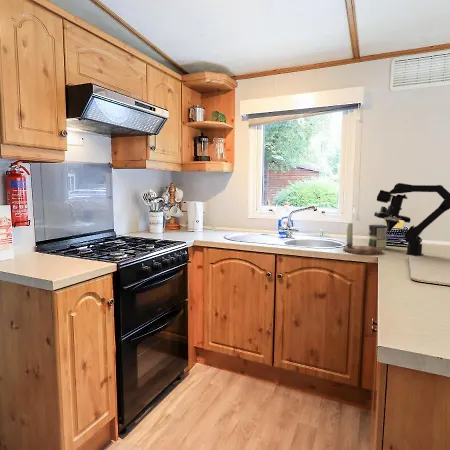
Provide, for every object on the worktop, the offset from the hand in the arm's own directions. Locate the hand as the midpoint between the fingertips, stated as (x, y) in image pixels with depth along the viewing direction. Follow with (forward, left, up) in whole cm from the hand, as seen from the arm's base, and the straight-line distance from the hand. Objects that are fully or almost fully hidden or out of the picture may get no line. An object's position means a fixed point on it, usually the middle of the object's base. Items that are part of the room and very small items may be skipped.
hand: (388, 231), depth 194 cm
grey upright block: (+14, -7, -12) cm, 20 cm away
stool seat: (+6, +13, -12) cm, 19 cm away
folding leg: (+11, +18, -10) cm, 23 cm away
